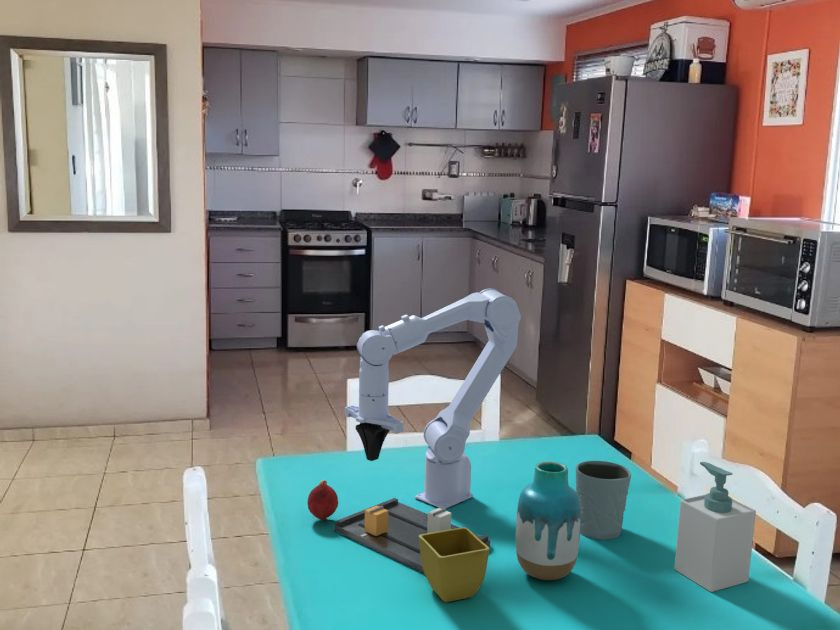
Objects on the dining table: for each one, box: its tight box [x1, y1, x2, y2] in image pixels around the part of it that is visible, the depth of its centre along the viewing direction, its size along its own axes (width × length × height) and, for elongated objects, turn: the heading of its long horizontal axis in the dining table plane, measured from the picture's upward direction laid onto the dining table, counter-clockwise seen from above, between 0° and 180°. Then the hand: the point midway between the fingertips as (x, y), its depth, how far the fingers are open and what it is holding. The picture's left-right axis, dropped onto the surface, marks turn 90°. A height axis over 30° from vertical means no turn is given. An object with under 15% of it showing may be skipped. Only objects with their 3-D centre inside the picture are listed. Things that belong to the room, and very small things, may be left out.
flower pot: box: [419, 526, 490, 603], centre depth 139 cm, size 9×9×9 cm
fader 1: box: [364, 505, 388, 536], centre depth 158 cm, size 3×3×4 cm
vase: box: [515, 461, 581, 581], centre depth 145 cm, size 11×11×19 cm
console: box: [333, 497, 491, 575], centre depth 158 cm, size 16×24×2 cm, turn 47°
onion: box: [307, 479, 339, 521], centre depth 164 cm, size 6×6×8 cm
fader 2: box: [427, 507, 452, 533], centre depth 157 cm, size 3×3×4 cm
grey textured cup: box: [575, 460, 632, 541], centre depth 163 cm, size 10×10×12 cm
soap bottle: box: [673, 461, 757, 593], centre depth 146 cm, size 9×9×19 cm
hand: (372, 459), depth 171 cm, fingers closed
